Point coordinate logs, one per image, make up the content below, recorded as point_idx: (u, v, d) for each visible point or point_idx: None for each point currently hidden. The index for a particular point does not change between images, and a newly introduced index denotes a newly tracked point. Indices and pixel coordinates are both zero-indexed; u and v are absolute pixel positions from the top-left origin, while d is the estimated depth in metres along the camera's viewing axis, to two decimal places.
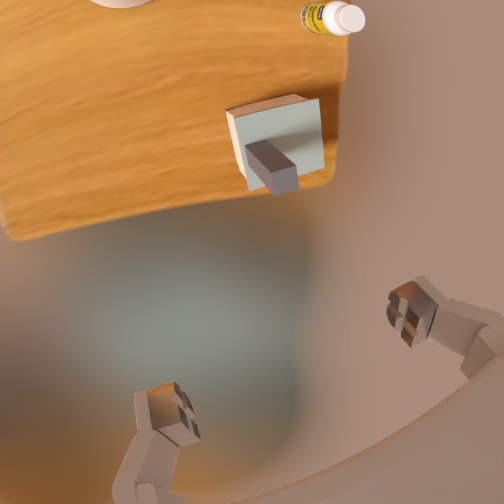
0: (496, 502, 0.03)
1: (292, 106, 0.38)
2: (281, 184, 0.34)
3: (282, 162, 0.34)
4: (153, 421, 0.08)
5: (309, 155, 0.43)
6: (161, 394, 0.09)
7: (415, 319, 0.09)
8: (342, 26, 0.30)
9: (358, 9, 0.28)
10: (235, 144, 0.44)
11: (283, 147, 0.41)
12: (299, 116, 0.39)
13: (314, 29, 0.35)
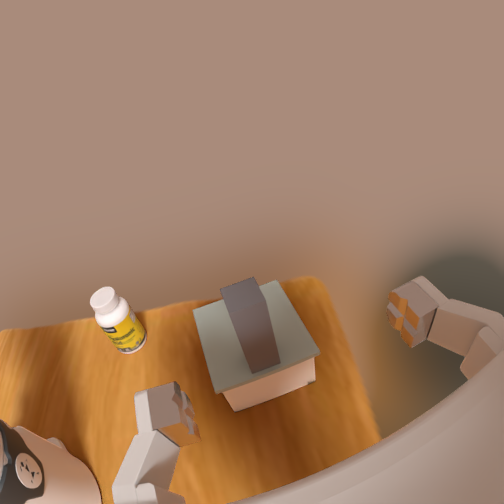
0: (496, 502, 0.03)
1: (201, 332, 0.34)
2: (247, 297, 0.24)
3: None
4: (153, 421, 0.08)
5: None
6: (161, 394, 0.09)
7: (415, 319, 0.09)
8: (109, 303, 0.37)
9: (94, 294, 0.39)
10: (274, 390, 0.32)
11: None
12: (213, 322, 0.35)
13: (134, 336, 0.41)
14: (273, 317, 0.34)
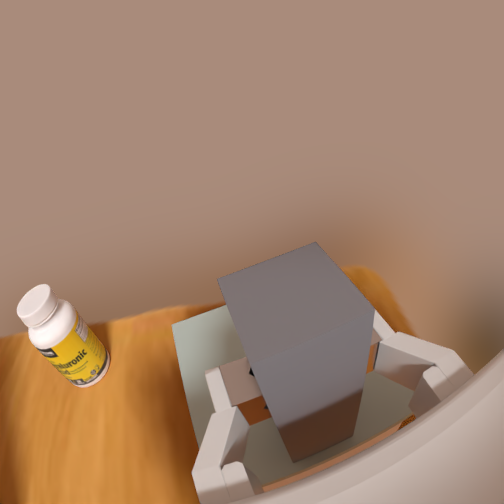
0: (496, 502, 0.03)
1: (185, 370, 0.17)
2: (310, 302, 0.07)
3: None
4: (231, 397, 0.08)
5: None
6: (236, 369, 0.09)
7: None
8: (40, 311, 0.20)
9: (24, 296, 0.21)
10: None
11: None
12: (208, 350, 0.18)
13: (87, 362, 0.24)
14: None
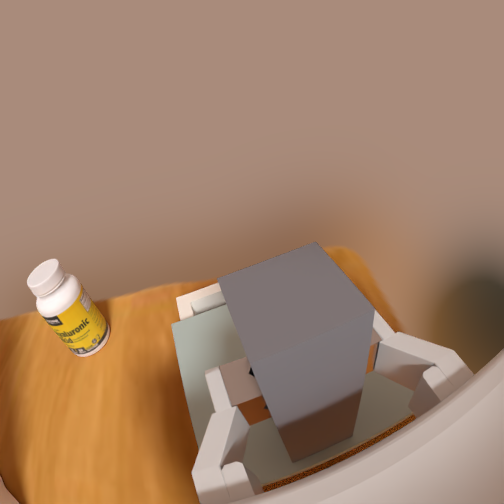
0: (496, 502, 0.03)
1: (185, 369, 0.17)
2: (311, 302, 0.07)
3: None
4: (231, 397, 0.08)
5: None
6: (236, 369, 0.09)
7: None
8: (49, 280, 0.23)
9: (34, 270, 0.25)
10: None
11: None
12: (208, 350, 0.18)
13: (89, 331, 0.27)
14: None
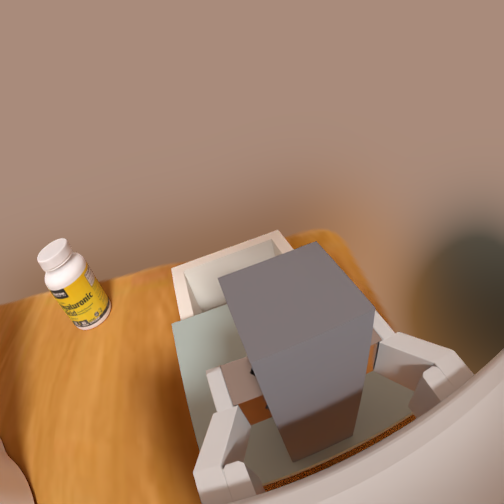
0: (496, 502, 0.03)
1: (185, 369, 0.17)
2: (310, 301, 0.07)
3: (240, 338, 0.09)
4: (232, 397, 0.08)
5: None
6: (237, 369, 0.09)
7: None
8: (58, 256, 0.26)
9: (44, 248, 0.28)
10: None
11: None
12: (208, 350, 0.18)
13: (92, 304, 0.30)
14: None
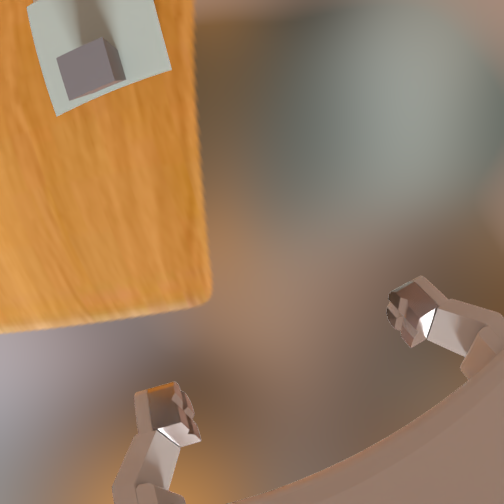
0: (496, 502, 0.03)
1: (37, 39, 0.17)
2: (92, 74, 0.14)
3: None
4: (153, 421, 0.08)
5: None
6: (161, 394, 0.09)
7: (415, 319, 0.09)
8: None
9: None
10: None
11: (99, 31, 0.19)
12: (51, 23, 0.16)
13: None
14: (125, 16, 0.19)
